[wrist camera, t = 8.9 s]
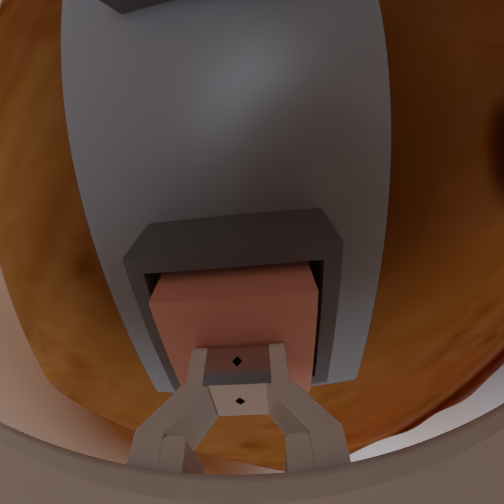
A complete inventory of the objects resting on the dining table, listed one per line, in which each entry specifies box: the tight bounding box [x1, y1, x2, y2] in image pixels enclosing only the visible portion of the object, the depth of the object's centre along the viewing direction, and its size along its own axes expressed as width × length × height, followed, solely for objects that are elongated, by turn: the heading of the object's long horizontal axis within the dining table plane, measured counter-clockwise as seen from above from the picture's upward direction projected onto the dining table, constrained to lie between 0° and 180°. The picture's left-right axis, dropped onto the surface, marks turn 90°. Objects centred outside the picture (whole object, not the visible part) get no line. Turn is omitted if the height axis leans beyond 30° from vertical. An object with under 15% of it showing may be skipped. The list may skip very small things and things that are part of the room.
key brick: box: [148, 261, 319, 392], centre depth 11 cm, size 5×5×3 cm
